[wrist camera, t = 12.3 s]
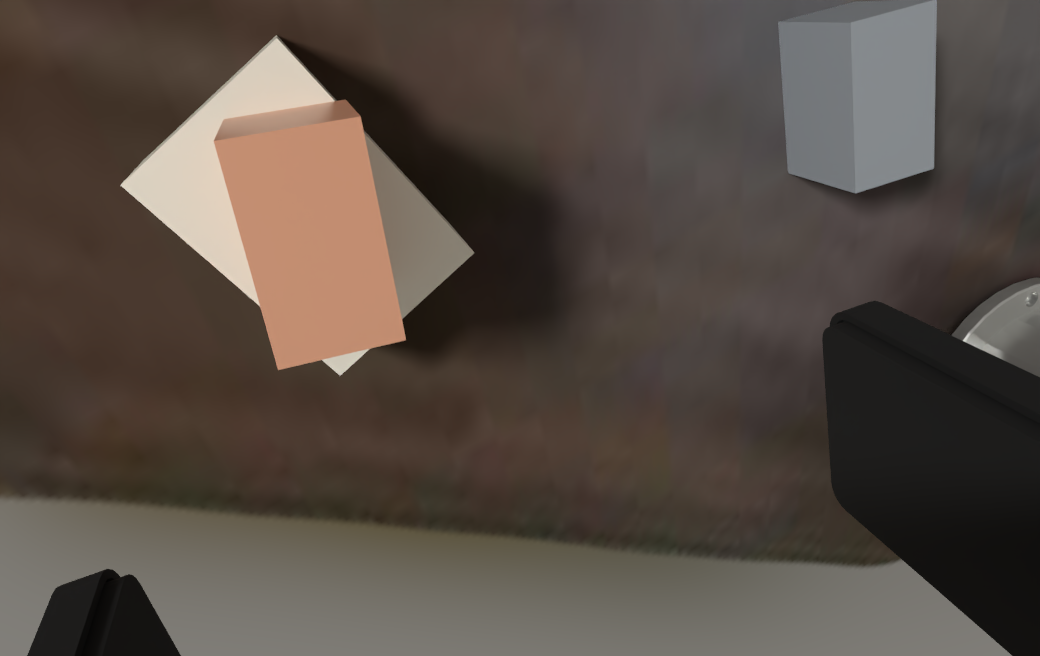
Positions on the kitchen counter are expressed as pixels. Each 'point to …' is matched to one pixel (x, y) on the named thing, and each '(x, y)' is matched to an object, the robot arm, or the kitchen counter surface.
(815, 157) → the slate brick
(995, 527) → the robot arm
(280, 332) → the terracotta brick
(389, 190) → the cream brick
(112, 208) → the kitchen counter surface
